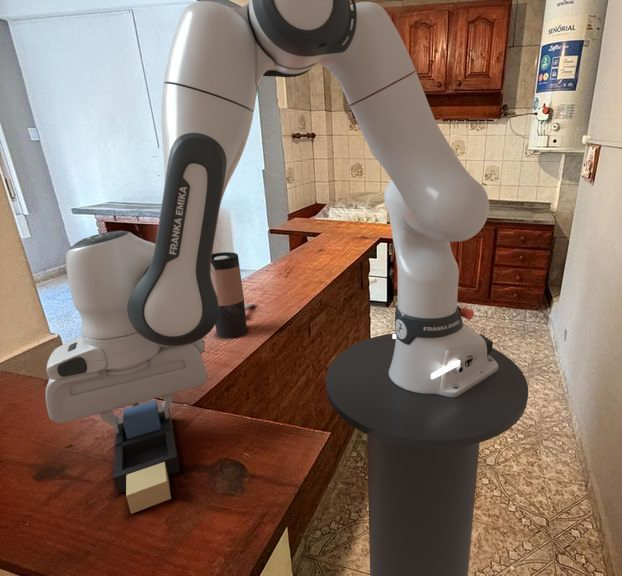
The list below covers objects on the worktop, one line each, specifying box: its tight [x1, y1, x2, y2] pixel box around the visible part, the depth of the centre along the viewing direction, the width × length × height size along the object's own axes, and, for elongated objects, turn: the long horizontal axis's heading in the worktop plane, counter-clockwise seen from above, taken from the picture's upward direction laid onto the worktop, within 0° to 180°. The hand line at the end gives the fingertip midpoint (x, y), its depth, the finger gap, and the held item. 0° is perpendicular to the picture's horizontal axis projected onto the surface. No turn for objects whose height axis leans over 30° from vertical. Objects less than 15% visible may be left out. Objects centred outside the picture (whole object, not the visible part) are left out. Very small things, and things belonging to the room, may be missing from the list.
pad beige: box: [125, 462, 172, 515], centre depth 52 cm, size 4×4×3 cm
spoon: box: [245, 303, 255, 317], centre depth 113 cm, size 3×12×2 cm, turn 0°
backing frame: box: [113, 408, 181, 495], centre depth 60 cm, size 8×14×3 cm, turn 31°
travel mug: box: [211, 251, 248, 339], centre depth 98 cm, size 8×8×20 cm
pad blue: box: [122, 400, 161, 439], centre depth 62 cm, size 4×4×3 cm
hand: (143, 423), depth 62 cm, fingers closed on pad blue, 4 cm apart
